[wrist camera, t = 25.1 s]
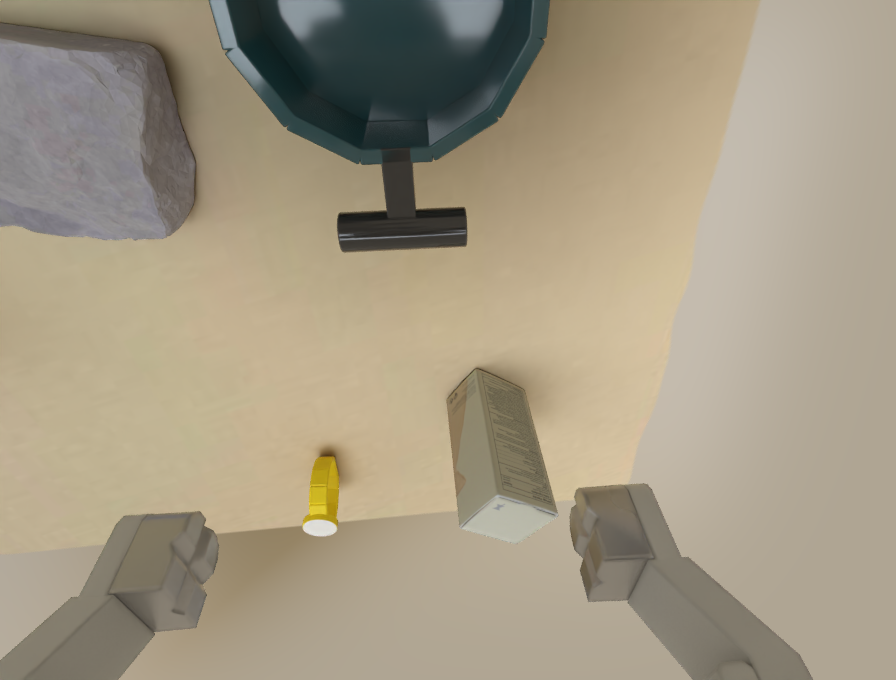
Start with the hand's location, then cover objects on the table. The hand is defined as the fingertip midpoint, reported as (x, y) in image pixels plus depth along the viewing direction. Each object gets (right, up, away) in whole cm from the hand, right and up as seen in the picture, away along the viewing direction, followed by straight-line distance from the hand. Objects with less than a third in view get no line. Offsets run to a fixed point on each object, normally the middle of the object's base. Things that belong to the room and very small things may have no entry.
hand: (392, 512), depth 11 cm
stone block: (-18, +15, +14) cm, 27 cm away
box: (+4, 0, +28) cm, 29 cm away
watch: (-9, -7, +33) cm, 35 cm away
